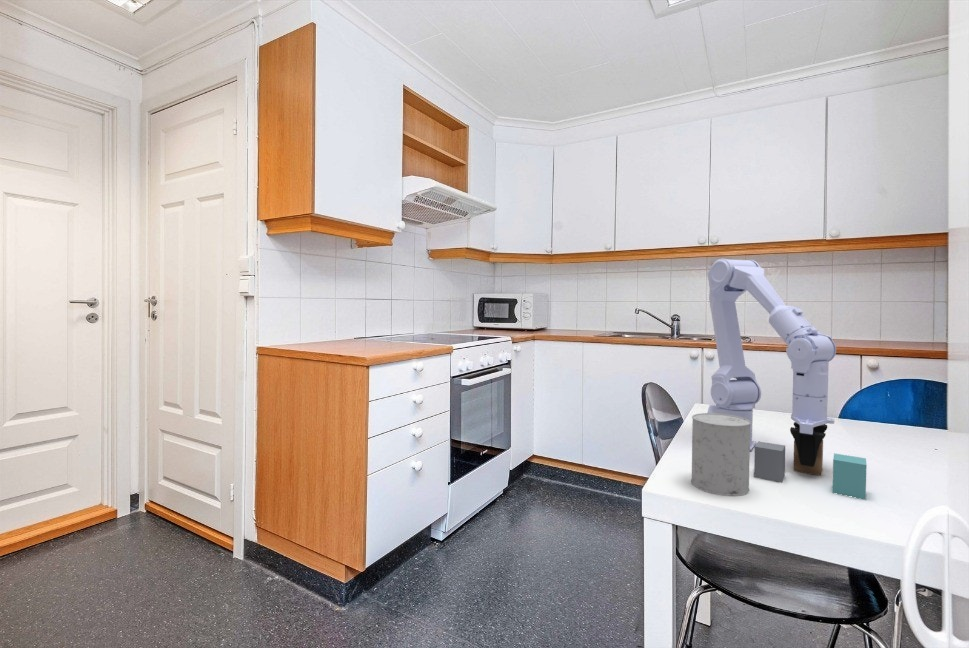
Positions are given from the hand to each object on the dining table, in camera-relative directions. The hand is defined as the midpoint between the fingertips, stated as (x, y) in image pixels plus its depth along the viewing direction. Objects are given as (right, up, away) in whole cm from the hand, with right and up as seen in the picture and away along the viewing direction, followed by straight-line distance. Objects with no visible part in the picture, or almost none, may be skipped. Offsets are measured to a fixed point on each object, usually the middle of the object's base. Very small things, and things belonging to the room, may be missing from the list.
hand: (808, 462), depth 92 cm
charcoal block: (-10, -2, -3) cm, 11 cm away
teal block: (-1, -2, -11) cm, 11 cm away
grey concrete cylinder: (-22, -2, -8) cm, 23 cm away
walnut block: (0, -2, 0) cm, 2 cm away
